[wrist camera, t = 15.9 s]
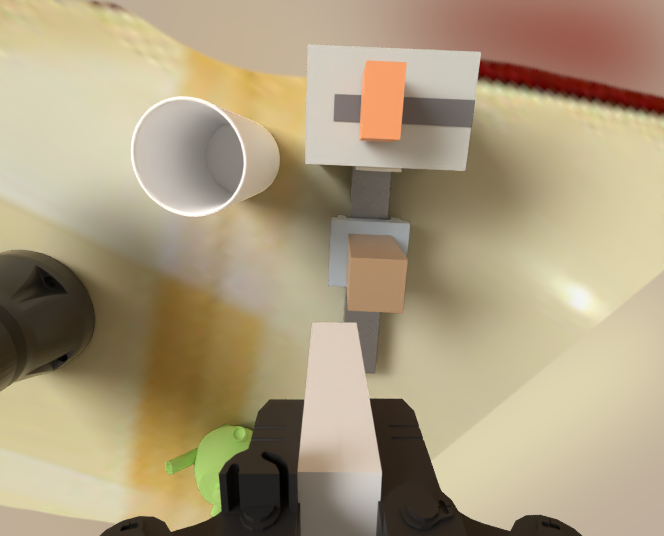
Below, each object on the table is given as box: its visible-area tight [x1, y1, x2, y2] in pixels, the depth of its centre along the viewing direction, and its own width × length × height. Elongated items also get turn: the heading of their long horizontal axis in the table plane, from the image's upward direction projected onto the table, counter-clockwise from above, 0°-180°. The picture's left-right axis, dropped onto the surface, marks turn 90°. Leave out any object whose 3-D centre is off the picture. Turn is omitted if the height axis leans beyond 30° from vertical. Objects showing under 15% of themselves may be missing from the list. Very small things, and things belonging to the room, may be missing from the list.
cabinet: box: [305, 45, 481, 172], centre depth 35 cm, size 12×8×14 cm
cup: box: [131, 97, 280, 217], centre depth 35 cm, size 8×8×16 cm
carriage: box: [328, 215, 410, 313], centre depth 38 cm, size 8×7×14 cm
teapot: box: [165, 424, 253, 517], centre depth 49 cm, size 11×12×8 cm
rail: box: [344, 166, 391, 373], centre depth 45 cm, size 4×24×2 cm, turn 178°
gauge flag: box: [359, 60, 407, 142], centre depth 26 cm, size 2×4×4 cm, turn 178°
